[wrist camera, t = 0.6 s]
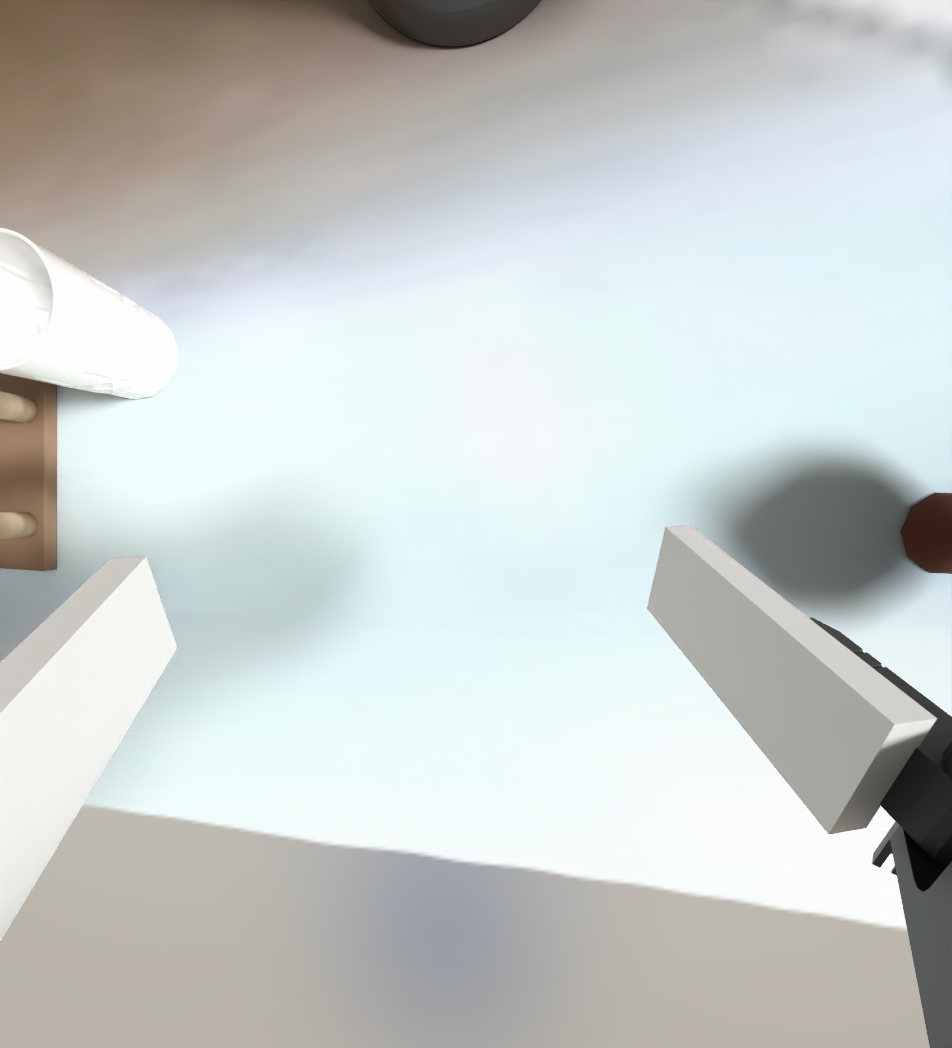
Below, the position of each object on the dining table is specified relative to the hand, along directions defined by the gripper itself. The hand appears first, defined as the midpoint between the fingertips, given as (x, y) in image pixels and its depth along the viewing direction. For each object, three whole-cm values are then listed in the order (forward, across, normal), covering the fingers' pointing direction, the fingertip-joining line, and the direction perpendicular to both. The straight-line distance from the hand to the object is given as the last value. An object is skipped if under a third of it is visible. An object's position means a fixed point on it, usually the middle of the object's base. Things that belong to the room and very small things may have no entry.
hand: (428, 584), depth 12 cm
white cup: (+31, -20, +2) cm, 37 cm away
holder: (+31, -34, -6) cm, 46 cm away
